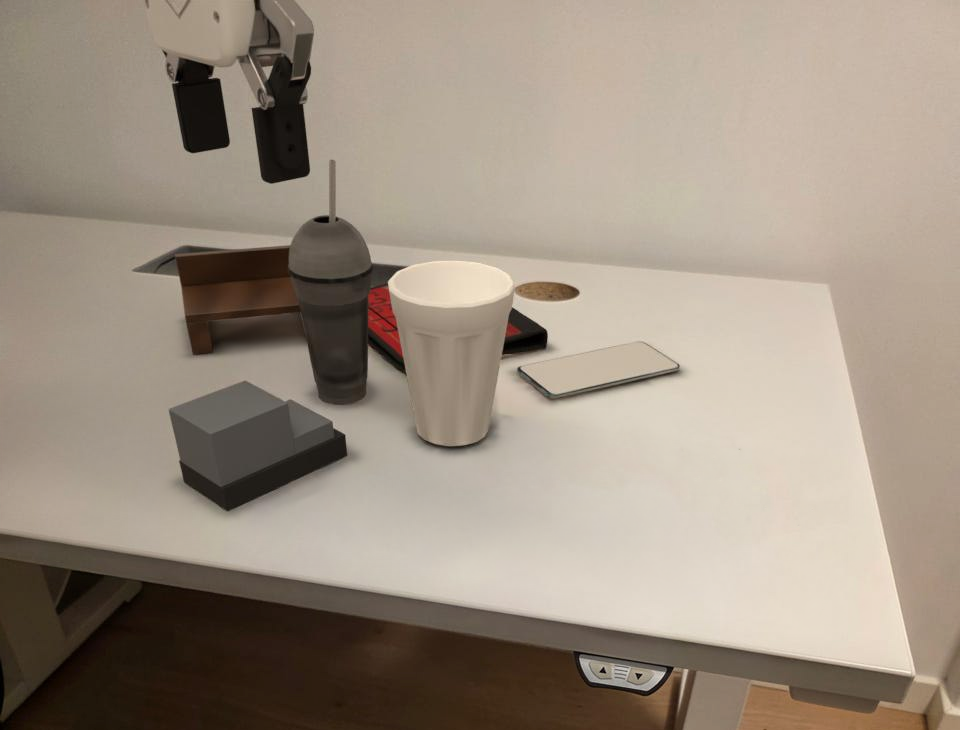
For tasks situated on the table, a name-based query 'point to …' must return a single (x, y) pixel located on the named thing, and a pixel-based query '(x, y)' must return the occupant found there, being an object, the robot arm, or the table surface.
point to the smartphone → (597, 369)
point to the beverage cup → (333, 301)
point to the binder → (387, 342)
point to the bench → (233, 288)
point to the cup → (452, 344)
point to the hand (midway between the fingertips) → (245, 163)
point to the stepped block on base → (250, 443)
